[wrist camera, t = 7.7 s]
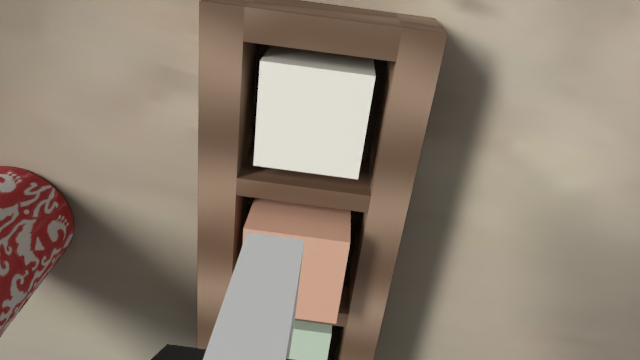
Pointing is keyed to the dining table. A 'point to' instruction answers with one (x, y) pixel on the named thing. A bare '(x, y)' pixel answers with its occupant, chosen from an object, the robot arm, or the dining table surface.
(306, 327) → the key sage
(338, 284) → the key terracotta
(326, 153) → the key ivory
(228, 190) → the wooden compartment tray
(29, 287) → the mug
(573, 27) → the dining table surface
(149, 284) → the dining table surface
